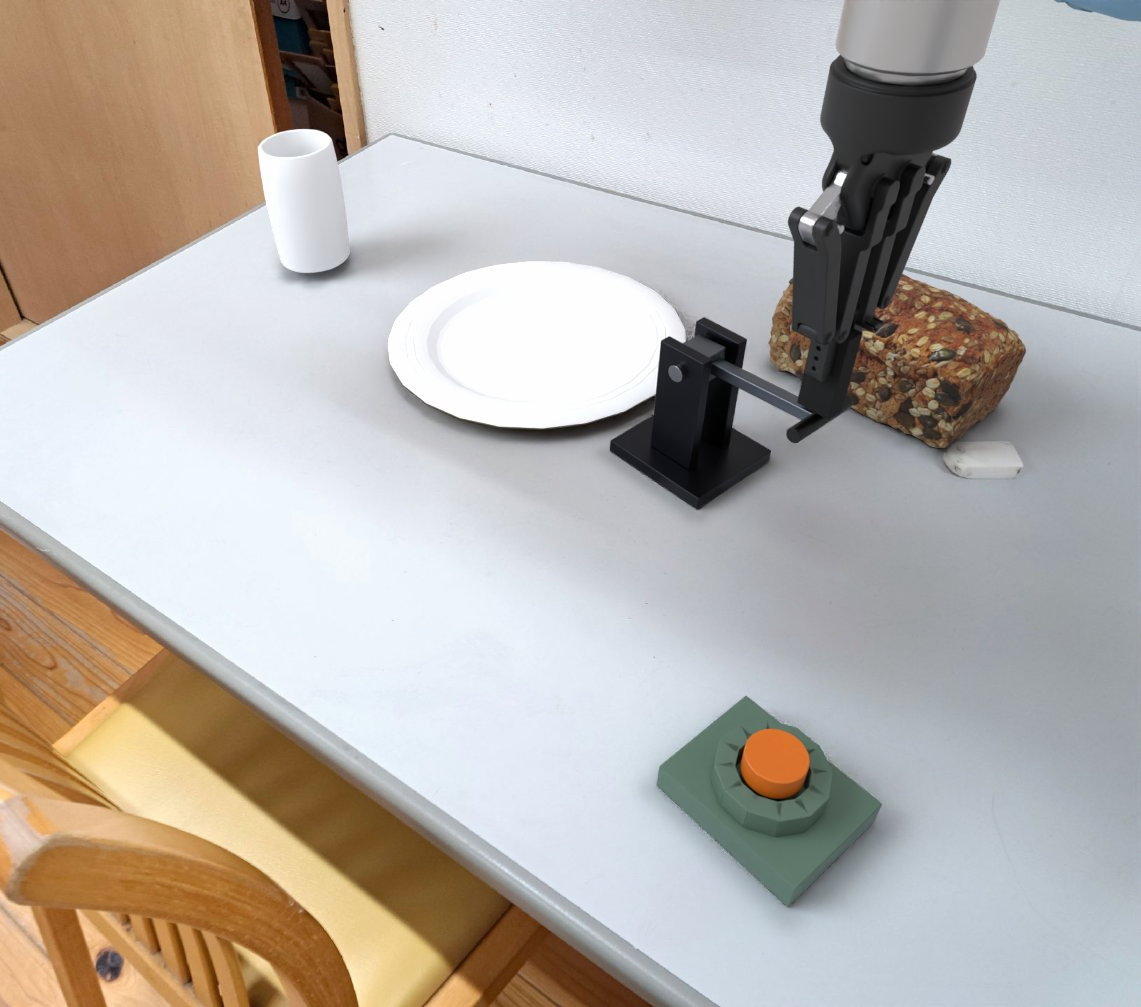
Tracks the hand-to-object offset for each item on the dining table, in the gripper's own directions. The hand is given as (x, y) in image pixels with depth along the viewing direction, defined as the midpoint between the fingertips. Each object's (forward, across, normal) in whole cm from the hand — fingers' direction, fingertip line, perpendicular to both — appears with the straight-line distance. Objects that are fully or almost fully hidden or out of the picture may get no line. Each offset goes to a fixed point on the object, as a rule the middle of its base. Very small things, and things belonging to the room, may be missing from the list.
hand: (819, 406), depth 68 cm
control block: (+11, +21, +14) cm, 28 cm away
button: (+8, +21, +14) cm, 27 cm away
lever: (+2, 0, -6) cm, 6 cm away
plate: (+12, -1, -32) cm, 34 cm away
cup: (+12, +6, -62) cm, 63 cm away
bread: (+12, -20, -6) cm, 24 cm away
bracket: (+11, 0, -11) cm, 16 cm away
